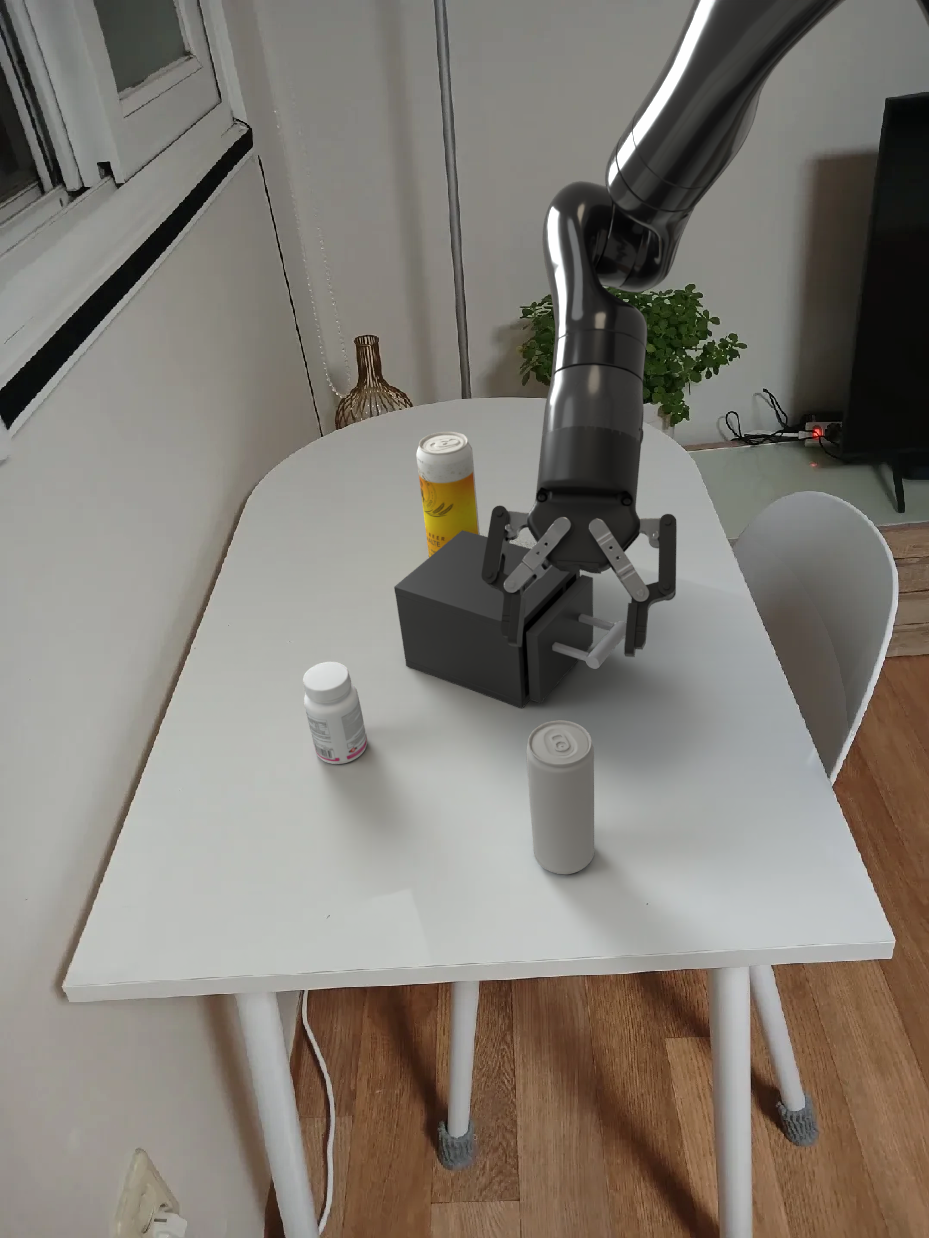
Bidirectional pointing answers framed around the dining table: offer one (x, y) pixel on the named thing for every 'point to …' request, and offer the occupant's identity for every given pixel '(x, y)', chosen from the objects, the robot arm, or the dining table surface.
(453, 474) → the beer can
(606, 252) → the robot arm
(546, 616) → the drawer
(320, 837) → the dining table surface
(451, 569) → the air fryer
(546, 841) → the beverage can
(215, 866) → the dining table surface
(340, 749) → the pill bottle
